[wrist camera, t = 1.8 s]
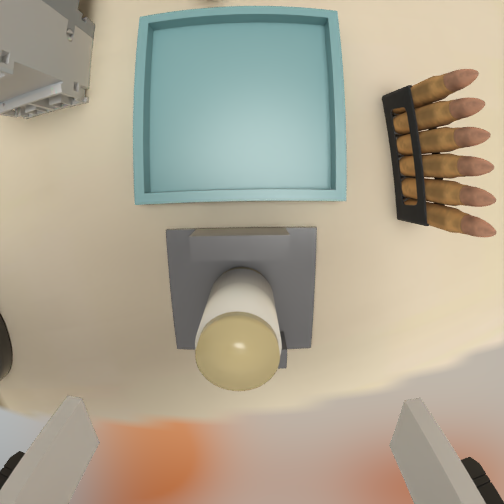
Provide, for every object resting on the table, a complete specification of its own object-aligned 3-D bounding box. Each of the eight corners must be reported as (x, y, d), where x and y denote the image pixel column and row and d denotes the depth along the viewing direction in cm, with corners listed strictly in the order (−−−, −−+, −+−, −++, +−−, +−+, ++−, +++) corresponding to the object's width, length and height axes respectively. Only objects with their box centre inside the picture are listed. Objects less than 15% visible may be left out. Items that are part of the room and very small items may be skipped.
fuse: (213, 320, 27) (196, 392, 17) (210, 264, 26) (187, 317, 16) (272, 320, 27) (282, 392, 17) (272, 263, 26) (284, 316, 16)
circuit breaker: (103, -22, 20) (32, -102, 5) (88, 102, 23) (-33, 60, 9) (43, 0, 20) (-39, -54, 5) (26, 119, 23) (-92, 104, 9)
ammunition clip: (381, 96, 23) (461, 54, 12) (400, 96, 23) (484, 58, 11) (397, 219, 26) (484, 252, 14) (415, 217, 26) (505, 247, 14)
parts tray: (144, 202, 25) (134, 204, 23) (148, 28, 22) (139, 17, 19) (337, 198, 25) (346, 201, 23) (330, 22, 22) (337, 10, 19)
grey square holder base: (178, 346, 28) (169, 367, 25) (167, 229, 26) (155, 237, 22) (310, 345, 28) (316, 366, 25) (315, 226, 26) (325, 234, 22)
